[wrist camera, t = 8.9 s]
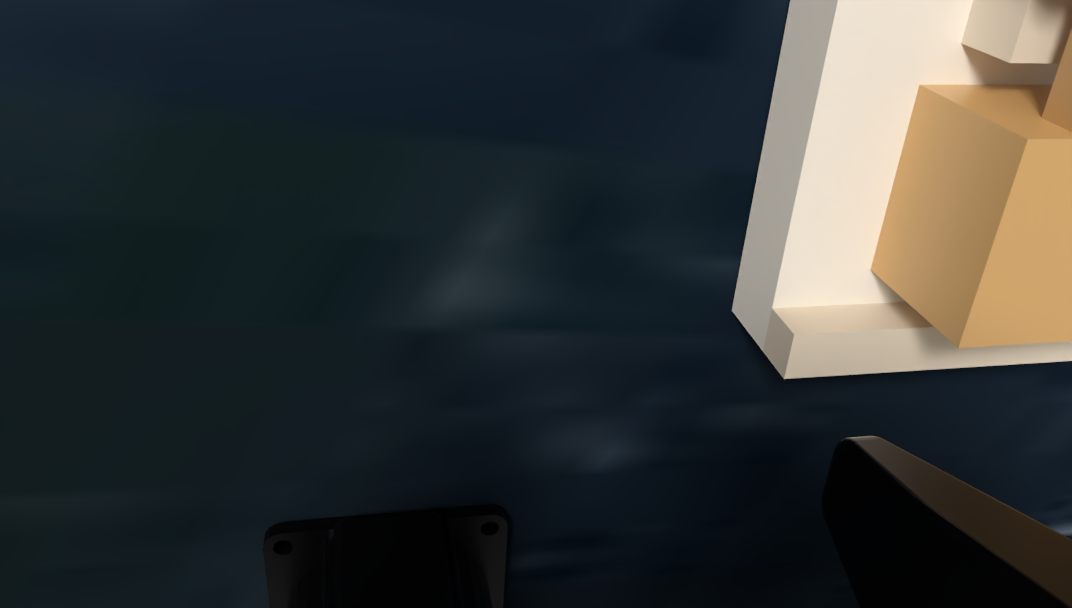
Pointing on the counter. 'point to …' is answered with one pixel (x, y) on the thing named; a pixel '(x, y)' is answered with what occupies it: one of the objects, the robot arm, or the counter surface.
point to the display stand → (868, 174)
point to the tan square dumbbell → (985, 212)
